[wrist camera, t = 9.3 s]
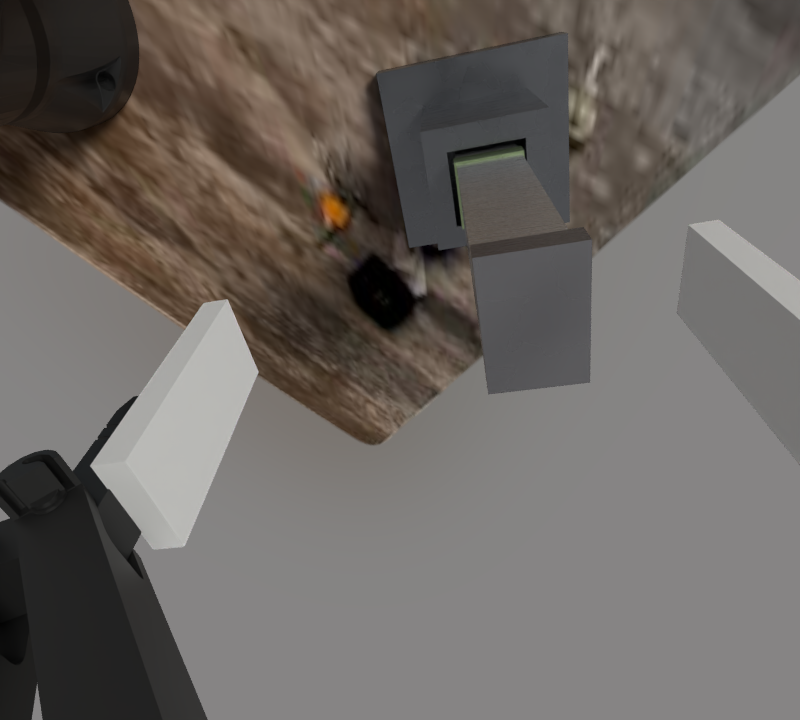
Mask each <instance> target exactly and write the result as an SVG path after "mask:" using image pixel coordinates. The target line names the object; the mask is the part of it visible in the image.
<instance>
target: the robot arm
mask: <svg viewBox="0 0 800 720" xmlns="http://www.w3.org/2000/svg"><path fill="white" fill-rule="evenodd" d="M138 64H139V44H138V35H137V30H136V25H135V21H134V17H133V14H132V10H131V7H130V5H129V2H128V0H0V126H2V125H6V124H8V125H13V126H18V127H23V128H28V129H33V130H38V131H44V132H52V133H67V132H75V131H80V130H83V129H86V128H89V127H92V126H95V125H98V124H100V123H102V122H105V121H106V120H108V119H110V118H111V117H112V116H114V115H115V114H116V113H117V112H118V111H119V110H120V109H121V108H122V107H123V106H124V104H125V103H126V101H127V100H128V98H129V96H130V94H131V92H132V90H133V87H134V84H135V81H136V77H137V72H138ZM677 314H678V315H679V316H680V318H681V319H682V320H683V321H684V323H685V324H686V325H687V326H688V328H689V329H690V330H691V331H692V332H693V334H694V335H695V336H696V337H697V339H698V340H699V341H700V342H701V344H702V345H703V346H704V347H705V349H706V350H707V351H708V352H709V354H711V356H712V357H713V358H714V360H715V361H716V362H717V363H718V365H719V366H720V367H721V368H722V369H723V371H724V372H725V373H726V375H727V376H728V377H729V378H730V379H731V381H732V382H733V383H734V384H735V386H736V387H737V388H738V389H739V390H740V392H741V393H742V394H743V396H744V397H745V398H746V399H747V400H748V402H749V403H750V404H751V405H752V406H753V408H754V409H755V410H756V412H757V413H758V414H759V415H760V416H761V418H762V419H763V420H764V421H765V423H766V424H767V425H768V426H769V428H770V429H771V430H772V431H773V432H774V434H775V435H776V436H777V437H778V439H779V440H780V441H781V442H782V444H783V445H784V446H785V447H786V449H787V450H788V451H789V452H790V454H791V455H792V456H793V457H794V458H795V460H796V461H797V462H798V463H799V464H800V280H798V279H797V278H796V277H794V276H793V275H792V274H790V273H789V272H788V271H786V270H785V269H784V268H782V267H781V266H780V265H778V264H777V263H776V262H774V261H773V260H772V259H770V258H769V257H768V256H766V255H765V254H764V253H762V252H761V251H760V250H758V249H757V248H755V247H754V246H753V245H752V244H750V243H749V242H748V241H746V240H745V239H744V238H742V237H741V236H740V235H738V234H737V233H736V232H734V231H733V230H732V229H730V228H729V227H728V226H726V225H725V224H724V223H722V222H721V221H720V220H715V221H709V222H702V223H696V224H690V225H688V231H687V239H686V247H685V255H684V262H683V270H682V278H681V286H680V293H679V301H678V308H677ZM257 375H258V370H257V367H256V365H255V363H254V360H253V358H252V355H251V353H250V351H249V348H248V346H247V344H246V341H245V339H244V337H243V334H242V332H241V330H240V327H239V325H238V323H237V320H236V318H235V316H234V313H233V311H232V309H231V306H230V304H229V302H228V299H226V300H220V301H214V302H207V303H203V305H202V306H201V308H200V309H199V311H198V312H197V313H196V315H195V316H194V318H193V319H192V321H191V322H190V323H189V325H188V326H187V328H186V329H185V331H184V332H183V333H182V335H181V336H180V338H179V339H178V341H177V342H176V343H175V345H174V346H173V348H172V349H171V351H170V352H169V353H168V355H167V356H166V358H165V359H164V361H163V362H162V364H161V365H160V366H159V368H158V369H157V371H156V372H155V373H154V375H153V376H152V378H151V379H150V381H149V382H148V383H147V385H146V386H145V388H144V389H143V391H142V392H141V394H140V395H139V396H135V397H133V398H132V399H130V400H129V401H128V402H127V403H125V404H124V405H123V406H122V407H121V408H119V410H117V411H116V413H115V414H114V415H113V417H112V418H111V420H110V421H109V422H108V424H107V428H104V429H103V431H102V432H101V433H100V435H99V436H98V440H95V442H94V443H93V444H92V446H91V447H90V448H89V450H88V451H87V453H86V454H85V456H84V457H83V458H82V460H81V461H80V462H79V464H78V465H77V467H76V468H75V469H74V470H73V471H72V470H71V469H70V468H69V466H68V465H67V464H66V462H65V461H64V460H63V459H62V457H61V456H60V455H59V454H58V453H57V452H56V451H53V450H43V451H38V452H34V453H32V454H29V455H27V456H25V457H22V458H20V459H19V460H17V461H16V462H14V463H12V464H11V465H9V466H8V467H6V468H5V469H4V470H3V471H2V472H1V473H0V508H1V509H2V510H3V511H4V512H5V513H6V514H7V515H8V516H9V517H10V519H7V520H5V521H1V522H0V720H31V719H32V712H33V706H34V700H35V693H36V686H37V684H38V691H39V697H40V704H41V711H42V718H43V720H207V717H206V715H205V712H204V710H203V708H202V705H201V703H200V700H199V698H198V695H197V693H196V691H195V688H194V686H193V683H192V681H191V678H190V676H189V674H188V671H187V669H186V666H185V664H184V662H183V659H182V657H181V655H180V652H179V650H178V647H177V645H176V642H175V640H174V638H173V635H172V633H171V630H170V628H169V625H168V623H167V621H166V618H165V616H164V614H163V611H162V609H161V606H160V604H159V602H158V599H157V597H156V594H155V592H154V589H153V587H152V584H151V582H150V580H149V577H148V575H147V573H146V570H145V568H144V565H143V563H142V560H141V558H140V557H139V555H138V554H137V553H136V552H135V550H134V549H133V548H134V546H135V544H136V542H137V540H138V538H139V536H140V534H142V536H143V537H144V538H145V540H146V541H147V542H148V543H149V545H150V546H151V548H152V549H153V550H156V549H166V548H176V547H184V546H185V544H186V542H187V539H188V537H189V534H190V532H191V530H192V527H193V525H194V523H195V520H196V518H197V516H198V513H199V511H200V509H201V506H202V504H203V502H204V499H205V497H206V494H207V492H208V490H209V488H210V485H211V483H212V480H213V478H214V476H215V473H216V471H217V469H218V466H219V464H220V462H221V459H222V457H223V454H224V452H225V450H226V448H227V445H228V443H229V440H230V438H231V436H232V433H233V431H234V429H235V426H236V424H237V421H238V419H239V417H240V414H241V412H242V410H243V408H244V405H245V403H246V401H247V398H248V396H249V394H250V391H251V389H252V386H253V384H254V381H255V379H256V377H257Z"/></svg>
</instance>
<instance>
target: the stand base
mask: <svg viewBox="0 0 800 720" xmlns="http://www.w3.org/2000/svg"><path fill="white" fill-rule="evenodd" d="M376 75H377V80H378V85H379V91H380V96H381V101H382V107H383V112H384V117H385V122H386V128H387V133H388V138H389V143H390V149H391V154H392V159H393V165H394V170H395V175H396V180H397V186H398V191H399V196H400V201H401V207H402V212H403V217H404V222H405V228H406V233H407V238H408V244H409V248H412V247H418V246H424V245H431V244H437V243H438V250H444V249H450V248H456V247H463V246H467V242H466V235H465V229H462V223H461V215H460V208H459V200H458V192H457V184H456V176H455V168H454V161H453V158H455V152H454V151H457V150H463V149H468V148H473V147H479V146H484V145H490V144H495V143H500V142H506V141H511V140H514V141H515V143H516V144H517V146H522V148H523V149H524V155H525V159H526V161H527V162H528V164H529V166H530V167H531V169H532V171H533V172H534V174H535V175H536V177H537V179H538V180H539V182H540V184H541V185H542V187H543V189H544V190H545V192H546V193H547V195H548V197H549V198H550V200H551V202H552V203H553V205H554V206H555V208H556V210H557V211H558V213H559V215H560V216H561V218H562V219H563V221H564V223H567V222H570V216H569V114H568V33H565V32H559V33H555V34H550V35H545V36H541V37H536V38H531V39H527V40H522V41H517V42H513V43H508V44H503V45H499V46H494V47H489V48H485V49H480V50H475V51H471V52H466V53H461V54H456V55H452V56H447V57H442V58H438V59H433V60H428V61H424V62H419V63H414V64H410V65H405V66H400V67H396V68H391V69H386V70H382V71H378V72H377V74H376Z"/></svg>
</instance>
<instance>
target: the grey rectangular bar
mask: <svg viewBox="0 0 800 720" xmlns="http://www.w3.org/2000/svg"><path fill="white" fill-rule="evenodd" d="M454 152H455V158H453V161H454V168H455V176H456V184H457V192H458V200H459V208H460V215H461V223H462V229H465V235H466V242H467V248H468V255H469V262H470V269H471V276H472V282H473V289H474V296H475V303H476V309H477V316H478V323H479V330H480V337H481V343H482V350H483V357H484V365H485V373H486V380H487V388H488V394H495V393H504V392H511V391H521V390H529V389H537V388H547V387H555V386H564V385H572V384H581V383H589V382H590V347H591V279H592V278H591V277H592V239H591V237H590V236H589V234H588V233H587V231H586V230H585V229H584V227H580V228H574V229H568V228H567V226H566V224H565V223H564V221H563V219H562V218H561V216H560V215H559V213H558V211H557V210H556V208H555V206H554V205H553V203H552V202H551V200H550V198H549V197H548V195H547V193H546V192H545V190H544V189H543V187H542V185H541V184H540V182H539V180H538V179H537V177H536V175H535V174H534V172H533V171H532V169H531V167H530V166H529V164H528V162H527V161H526V159H525V155H524V149H523V148H522V146H517V144H516V143H515V141H514V140H511V141H506V142H500V143H495V144H490V145H484V146H479V147H473V148H468V149H463V150H457V151H454Z"/></svg>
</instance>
